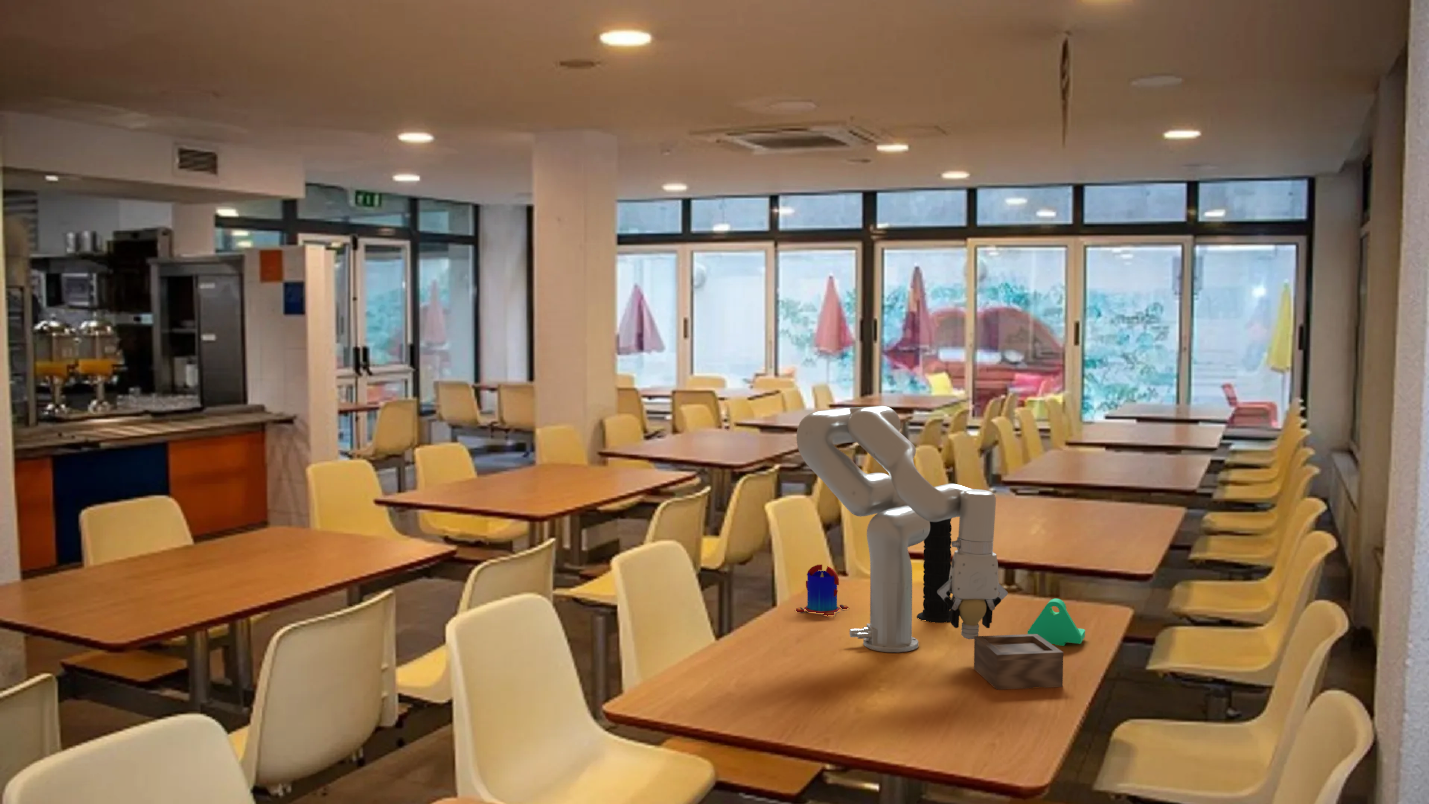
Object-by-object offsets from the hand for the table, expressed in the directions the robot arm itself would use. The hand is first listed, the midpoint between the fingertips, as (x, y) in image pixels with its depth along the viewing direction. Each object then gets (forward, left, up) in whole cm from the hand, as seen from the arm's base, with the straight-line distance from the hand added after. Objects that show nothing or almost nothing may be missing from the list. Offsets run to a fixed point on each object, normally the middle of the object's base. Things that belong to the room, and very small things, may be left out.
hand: (970, 625), depth 263 cm
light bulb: (0, 0, -3) cm, 3 cm away
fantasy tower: (-23, +49, -8) cm, 54 cm away
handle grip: (+4, +37, -8) cm, 38 cm away
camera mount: (+25, +13, -8) cm, 30 cm away
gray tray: (+6, -13, -8) cm, 16 cm away
